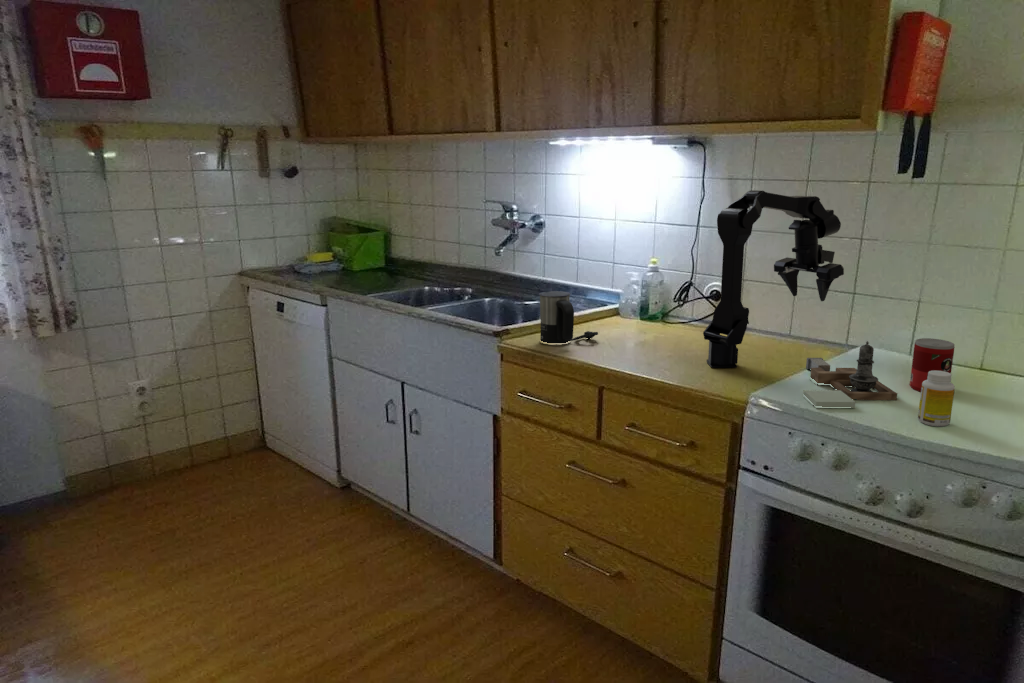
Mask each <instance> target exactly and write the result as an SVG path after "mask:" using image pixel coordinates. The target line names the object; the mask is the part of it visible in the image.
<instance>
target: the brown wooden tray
mask: <svg viewBox="0 0 1024 683" xmlns="http://www.w3.org/2000/svg"><path fill="white" fill-rule="evenodd" d="M856 371H857V368H855V367H836V368H835V370H830V371H824V370H823V369H822V368H811V371H810V375H809V376H810V377H811V378H812V379H814V380H815V381H816V382H817V383H824V384H831V385H832V386H833V387H834V388H835V389H837V390H841V391H842V392H843V393H845V394H846V395H847V396H848V397H850V398H851V399H857V400H856V401H897V400H898V393H897V392H896V391H894V390H893V389H891V388H889V387H888V386H886V385H885V384H883V383H882V382H881V381H879V380H878V381H876V385H875V386H874V387H873V388H872V389H874V390H875V391H873V392H851V391H850V390H851V389H850V388H848V387H845V386H852V387H851V388H855V387H854V386H853V385H852V384H851V381H850V378H849V376H850V375H852V374H855V373H856ZM810 377H809V378H810Z"/></svg>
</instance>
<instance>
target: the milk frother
mask: <svg viewBox="0 0 1024 683" xmlns="http://www.w3.org/2000/svg"><path fill="white" fill-rule="evenodd" d="M538 296H539V308H540V309H539V312H540V313H539V315H540V316H539V317H540V340H541V341H543V342H547V343H566V342H568V341H571V342H572V341H573V342H574V341H578V340H581V339H584V338H585V339H586V338H588V339H590V338H591V339H593V338H594V337H595V336H598V335H599V332H598V331H590V330H589V331H588V330H587V331H585V332H584V333H583V334H581V335H578V336H576V337H574V327H575V326H574V324H575V323H574V320H575V311H574V307H573V306H574V305H573V304H572V303H571V302H570V301H571V300H570V296H571V293H570V292H569V291H560V290H558V291H557V290H552V291H551V290H550V291H542V292H540V293H538ZM591 339H590V340H591ZM540 340H539V341H540Z"/></svg>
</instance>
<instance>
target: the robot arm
mask: <svg viewBox="0 0 1024 683" xmlns="http://www.w3.org/2000/svg"><path fill="white" fill-rule="evenodd" d="M763 209H770V210H776V211H781V212H784V213H785V215H787V216H790V217H792V218H799V219H794V220H793V222H792V223H791V224H790V225H789V226H788V230H790V231H791V230H793V231H794V247H792V248H791V252H792V253H795V254H794V255H795V257H788V256H787V257H785V258H782V259H778V260H776V261H775V262H774V264H773V271H774V272H775V273H777V275H778V276H779V277H780V278H781V279H782V281H783V282H784V283H785V285H786V286H787V288H788V289H789V291H790V293H791V295H792V296H793V297H796V296H797V295H798V275H799V273H800V271H802V272H807V273H816V277H817V278H816V279H815V282H816V287H817V292H818V298H819V300H820V302H825V300H826V297H827V295H828V292H829V290H830V287H831V285H832V284H833V282H834V280H836V279H838V278H839V277H840V276H843V275H845V270H844V269H845V268H844V266H843V265H842V264H839V263H833V262H834V258H835V251H834V250H833V251H832V250H825V249H823V246H822V244H819V239H824V238H825V237H826V238H827V237H829V236H831V235H832V236H833V235H835V234H837V233H838V232H839V231H840V229H841V225H842V222H841V221H840V218H839V217H838V215H836V214H835V210H834V209H825V207H824V205H823V203H822V201H821V198H820V197H819V196H813V195H811V196H810V195H790V196H789V195H783V194H780V193H779V194H776V193H772V192H767V191H765V190H754V189H753V190H752V189H751V190H749V191H747V192H745V193H744V194H743V195H742V196H741V197H739V198H738V199H736V200H735V201H733V202H731V203H729V204H728V205H727V206H726V207H725V208H723V209H722V210H721V211H720V213H719V212H718V215H717V219H716V224H717V234H718V236H719V238H720V241H721V242H722V246H723V248H722V250H723V251H722V270H721V288H720V300H719V303H718V304H717V306H716V307H715V308H714V310H713V315H712V319H711V321H710V322H709V324H708V326H707V327H706V328H705V329H704V331H703V332H702V334H703V335H702V336H703V339H704V340H706V341H708V353H707V354H708V355H707V359H706V363H707V364H708V365H709V366H710V368H713V369H716V368H719V369H720V368H723V369H724V368H727V369H728V368H729V369H730V368H732V369H734V368H735V369H736V368H737V367H738V365H737V364H738V358H739V357H738V356H739V348H738V347H737V345H741V344H742V343H743V341H744V340H743V339H744V337H745V333H746V331H747V327H748V325H749V323H750V321H749V316H750V315H749V314H750V309H749V307H744V306H743V303H742V289H743V288H742V287H743V286H742V285H743V273H744V272H743V271H744V253H745V244H746V243H747V241H748V239H749V238H750V236H752V230H753V225H755V222H757V221H758V220H759V218H760V217H761V215H762V211H763ZM800 219H803V220H800ZM826 262H828V263H826ZM825 263H826V264H825ZM823 264H824V265H823Z"/></svg>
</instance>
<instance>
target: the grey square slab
mask: <svg viewBox="0 0 1024 683" xmlns="http://www.w3.org/2000/svg"><path fill="white" fill-rule="evenodd" d="M803 394H804V395H805V396H806V397H807V398H808V399H809V400H810V401H811V402H812V403H813V404H814V405H815V406H822V407H851V408H855V409H856V400H852V399H851V398H850V397H848V396H847V395H846V394H845V393H843V392H842V391H841V390H834V389H833V390H829V389H828V390H826V389H825V390H823V389H821V390H820V389H819V390H817V389H815V390H814V389H811V390H809V389H805V390H803V392H802V395H803Z"/></svg>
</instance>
